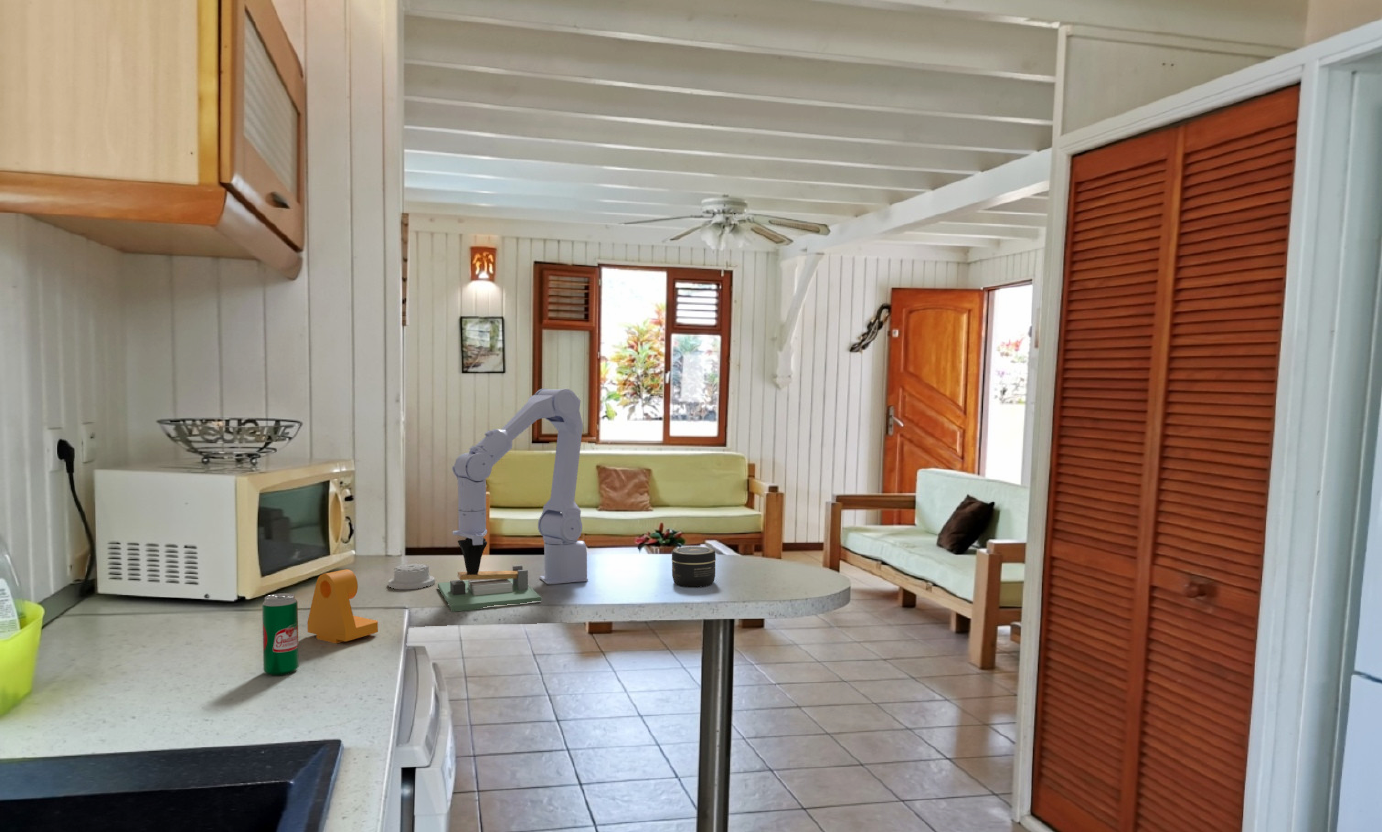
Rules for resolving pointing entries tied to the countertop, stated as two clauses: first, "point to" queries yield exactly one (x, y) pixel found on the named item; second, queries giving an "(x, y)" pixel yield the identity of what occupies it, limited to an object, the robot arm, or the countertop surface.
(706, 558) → the jar
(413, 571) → the mechanical component
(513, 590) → the board
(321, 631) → the bracket
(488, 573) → the orange brown flat bar
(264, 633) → the soda can
